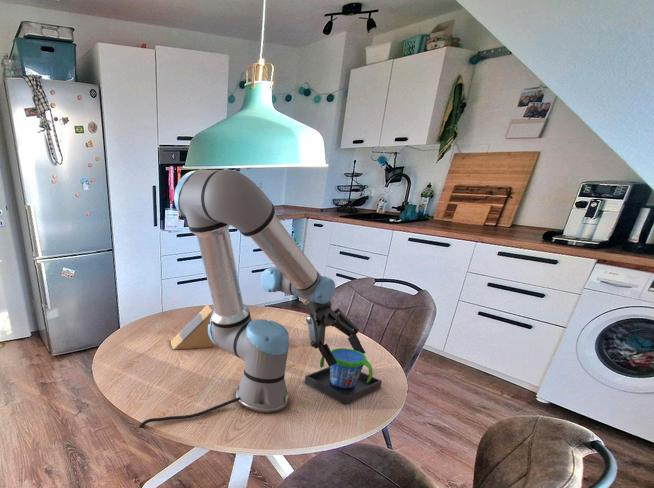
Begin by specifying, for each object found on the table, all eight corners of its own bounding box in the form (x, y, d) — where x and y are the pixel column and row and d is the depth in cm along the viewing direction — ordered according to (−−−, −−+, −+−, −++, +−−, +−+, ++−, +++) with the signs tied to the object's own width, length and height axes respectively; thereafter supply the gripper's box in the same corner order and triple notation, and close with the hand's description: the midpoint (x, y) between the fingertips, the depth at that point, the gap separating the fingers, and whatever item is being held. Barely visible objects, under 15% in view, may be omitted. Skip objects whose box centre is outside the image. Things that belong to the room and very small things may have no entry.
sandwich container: (170, 340, 156) (169, 305, 150) (207, 338, 158) (208, 303, 152) (172, 349, 148) (172, 312, 142) (211, 347, 150) (213, 310, 144)
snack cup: (311, 379, 125) (315, 351, 121) (328, 369, 131) (333, 342, 127) (357, 399, 114) (364, 369, 110) (374, 387, 120) (381, 358, 116)
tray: (345, 404, 113) (347, 397, 112) (304, 382, 124) (305, 375, 123) (380, 387, 121) (382, 380, 120) (338, 368, 133) (339, 362, 132)
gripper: (332, 299, 133) (363, 355, 128) (280, 312, 121) (311, 374, 116) (348, 288, 127) (381, 345, 121) (295, 300, 115) (329, 365, 109)
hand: (347, 359), depth 118 cm, fingers open, 13 cm apart
